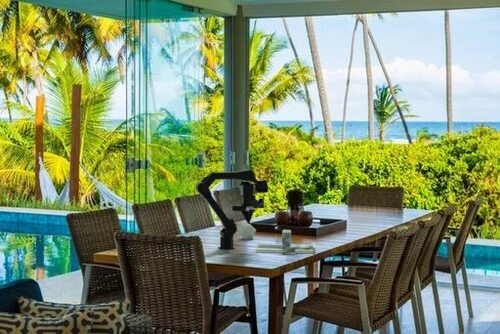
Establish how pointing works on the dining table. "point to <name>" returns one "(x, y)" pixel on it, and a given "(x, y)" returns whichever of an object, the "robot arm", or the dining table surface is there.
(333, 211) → the dining table surface
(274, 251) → the pale green open frame
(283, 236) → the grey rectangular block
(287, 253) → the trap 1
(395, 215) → the dining table surface
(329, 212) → the dining table surface
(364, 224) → the dining table surface
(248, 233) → the die
